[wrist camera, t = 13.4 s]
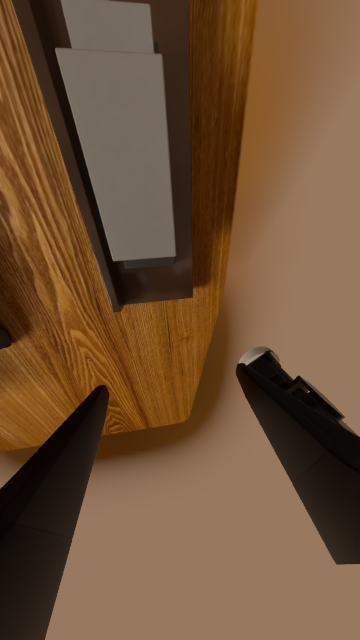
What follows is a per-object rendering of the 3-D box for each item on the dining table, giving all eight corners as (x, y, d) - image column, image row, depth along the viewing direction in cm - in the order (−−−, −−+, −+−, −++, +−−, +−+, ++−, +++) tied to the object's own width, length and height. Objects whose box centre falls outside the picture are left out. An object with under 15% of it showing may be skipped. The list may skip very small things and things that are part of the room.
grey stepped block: (173, 263, 15) (180, 270, 10) (128, 267, 14) (113, 276, 10) (158, 68, 9) (157, -115, 4) (81, 64, 9) (-7, -143, 4)
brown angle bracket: (189, 291, 19) (196, 303, 15) (122, 298, 18) (113, 312, 14) (180, 11, 9) (196, -156, 6) (40, -2, 9) (-58, -208, 5)
